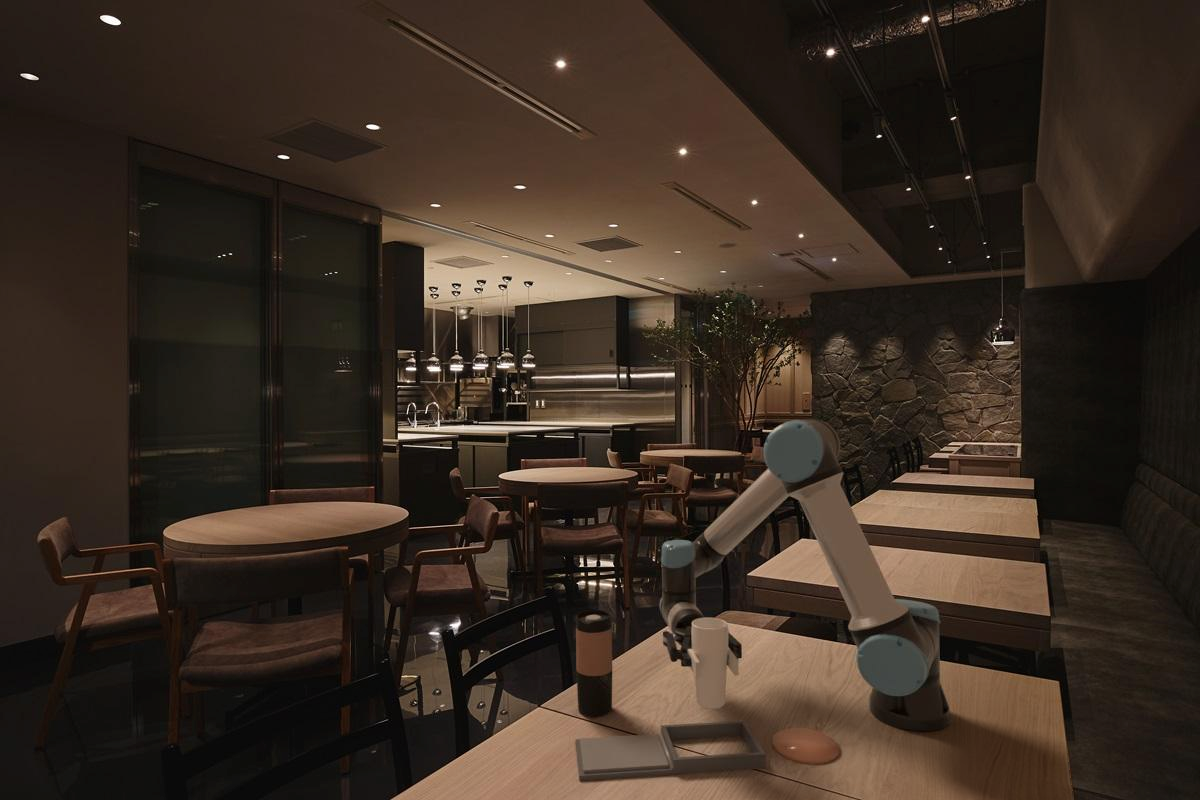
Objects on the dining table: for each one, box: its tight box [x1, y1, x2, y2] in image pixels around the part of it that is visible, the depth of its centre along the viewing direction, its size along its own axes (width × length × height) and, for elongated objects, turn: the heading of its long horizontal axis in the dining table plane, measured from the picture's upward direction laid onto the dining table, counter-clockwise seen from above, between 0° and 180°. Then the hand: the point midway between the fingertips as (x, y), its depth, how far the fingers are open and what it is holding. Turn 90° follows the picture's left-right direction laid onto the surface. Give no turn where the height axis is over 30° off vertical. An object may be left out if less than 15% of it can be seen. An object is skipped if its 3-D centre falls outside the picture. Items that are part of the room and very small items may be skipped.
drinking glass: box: [691, 617, 729, 710], centre depth 126 cm, size 7×7×15 cm
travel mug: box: [575, 609, 613, 718], centre depth 144 cm, size 8×8×20 cm
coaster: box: [771, 727, 840, 765], centre depth 128 cm, size 12×12×1 cm
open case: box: [574, 720, 767, 781], centre depth 126 cm, size 33×13×2 cm, turn 95°
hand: (717, 668), depth 121 cm, fingers closed on drinking glass, 6 cm apart
